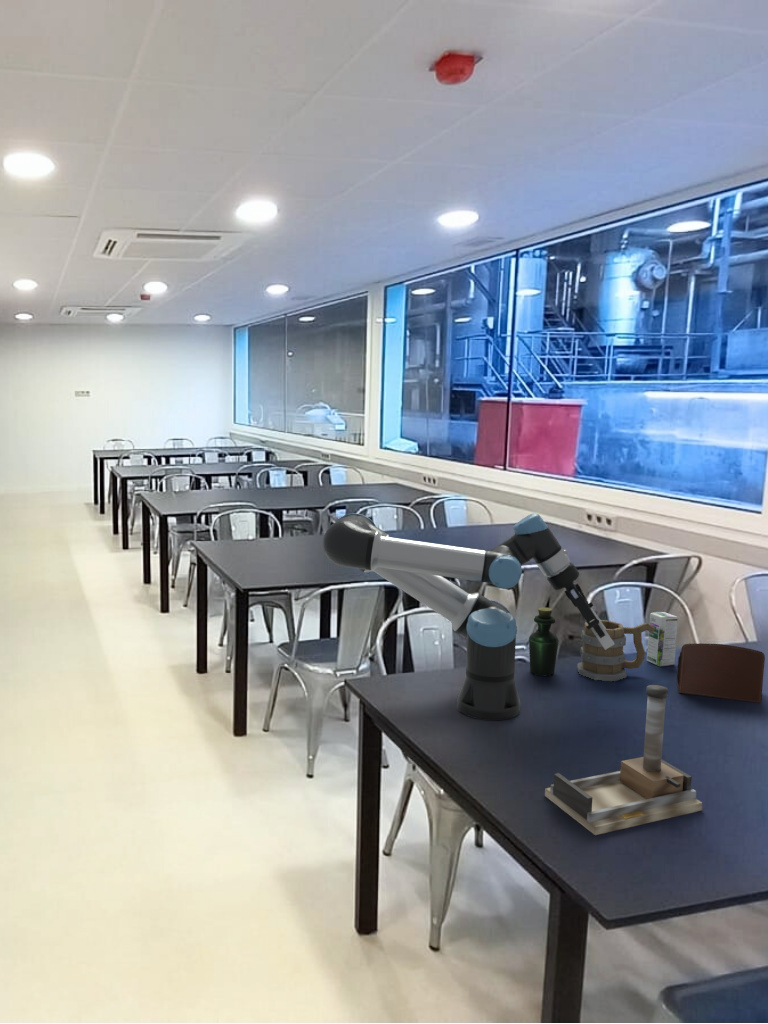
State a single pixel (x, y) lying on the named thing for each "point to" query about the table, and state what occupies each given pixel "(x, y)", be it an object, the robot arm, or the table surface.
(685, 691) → the letter holder
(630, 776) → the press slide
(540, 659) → the potion bottle
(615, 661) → the tankard
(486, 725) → the table surface
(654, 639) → the syrup box
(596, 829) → the press bed
